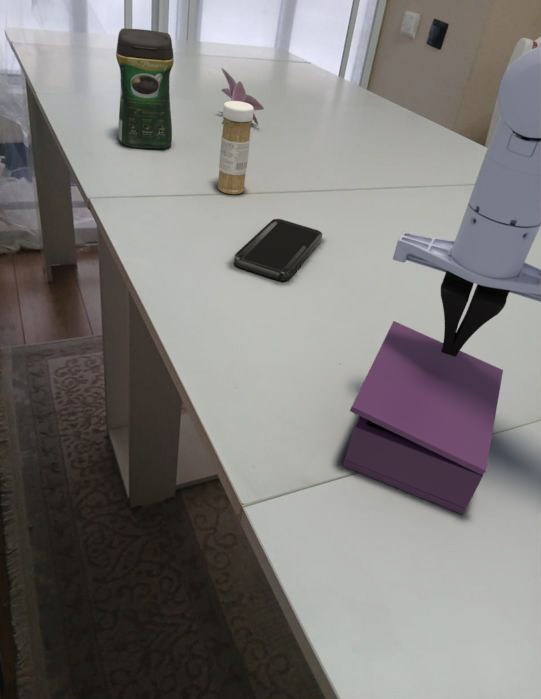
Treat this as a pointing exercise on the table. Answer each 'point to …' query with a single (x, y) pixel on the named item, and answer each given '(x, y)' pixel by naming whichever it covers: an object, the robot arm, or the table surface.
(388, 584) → the table surface
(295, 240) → the phone
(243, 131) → the sprinkles bottle
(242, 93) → the lily
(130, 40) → the coffee jar
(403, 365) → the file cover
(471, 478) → the box
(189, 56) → the table surface
